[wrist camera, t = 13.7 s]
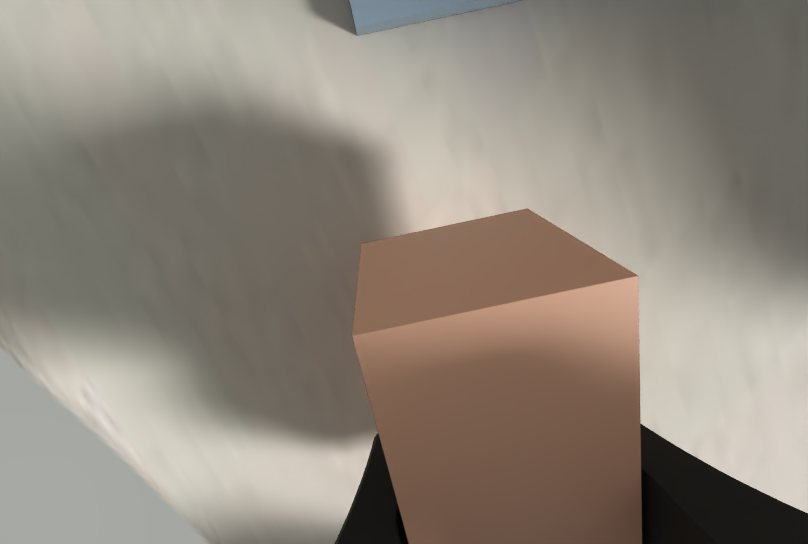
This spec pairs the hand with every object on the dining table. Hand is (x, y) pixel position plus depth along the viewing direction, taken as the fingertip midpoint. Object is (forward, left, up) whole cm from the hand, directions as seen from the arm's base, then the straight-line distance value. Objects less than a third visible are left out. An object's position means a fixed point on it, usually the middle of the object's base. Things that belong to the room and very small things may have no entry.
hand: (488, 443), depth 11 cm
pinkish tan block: (0, 0, -1) cm, 1 cm away
